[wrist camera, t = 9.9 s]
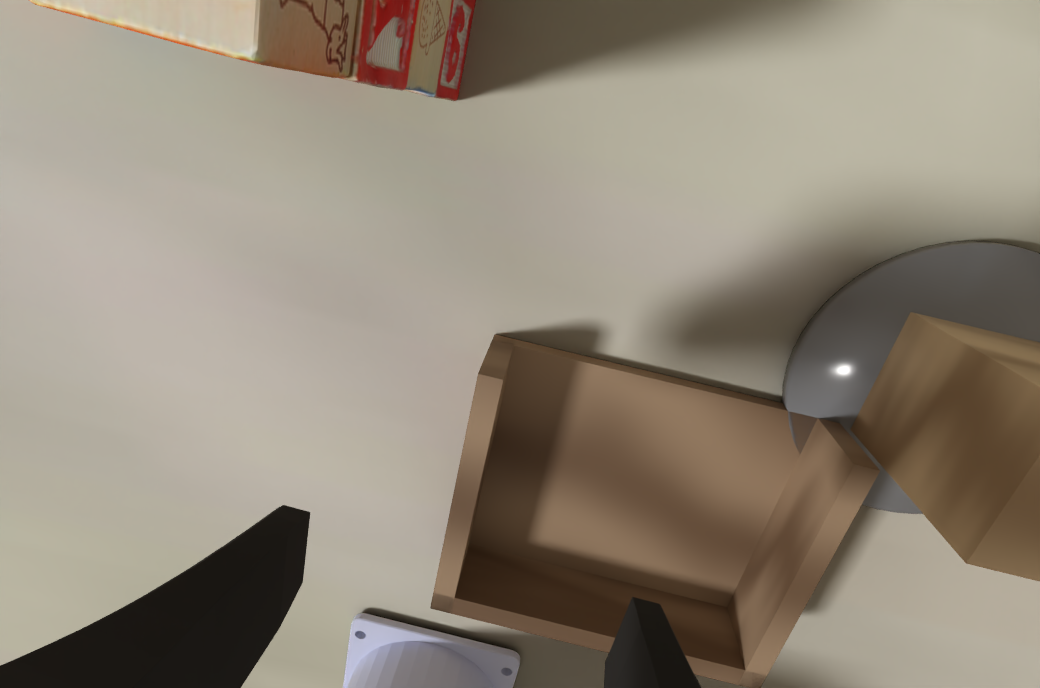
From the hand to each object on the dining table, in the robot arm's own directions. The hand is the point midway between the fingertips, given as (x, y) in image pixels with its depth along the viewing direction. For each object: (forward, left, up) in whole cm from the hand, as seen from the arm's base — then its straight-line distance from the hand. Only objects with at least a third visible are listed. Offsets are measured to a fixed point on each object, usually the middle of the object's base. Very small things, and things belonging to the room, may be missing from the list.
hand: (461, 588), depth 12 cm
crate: (-3, -5, -10) cm, 12 cm away
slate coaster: (+4, -14, -10) cm, 18 cm away
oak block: (+4, -14, -9) cm, 17 cm away
